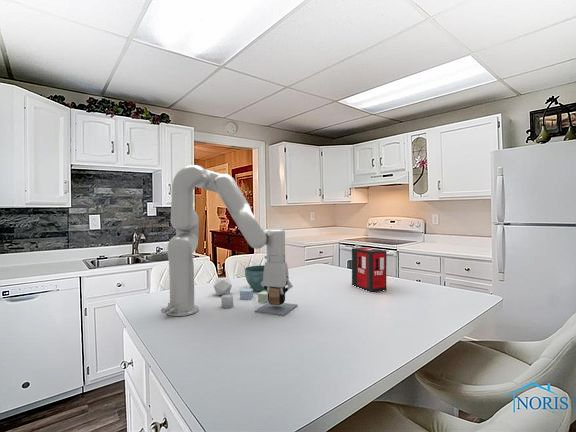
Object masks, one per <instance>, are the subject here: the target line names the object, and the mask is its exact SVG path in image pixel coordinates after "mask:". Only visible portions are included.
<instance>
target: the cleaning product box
mask: <svg viewBox="0 0 576 432" xmlns="http://www.w3.org/2000/svg"><path fill="white" fill-rule="evenodd" d="M352 285H354V286H356V287H355V288H357V287H359V288H358V289H360V288H362V289H364V290H363V291H365V290H367V291H366V292H368V291H370V292H369V293H371V292H376V293H378V292H377V291H383V290H386V291H387V250H382V249H378V248H370V247H365V246H364V247H354V248H351V286H352ZM354 286H353V287H354ZM362 289H361V290H362ZM383 292H384V291H383Z"/></svg>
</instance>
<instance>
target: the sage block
mask: <svg viewBox="0 0 576 432" xmlns="http://www.w3.org/2000/svg"><path fill="white" fill-rule="evenodd" d="M257 302H258V303H260V304H261V303H263V304H267V303H268V293H267V291H259V292H258V293H257Z"/></svg>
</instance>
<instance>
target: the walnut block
mask: <svg viewBox="0 0 576 432" xmlns="http://www.w3.org/2000/svg"><path fill="white" fill-rule="evenodd" d="M280 294H281V292H280V288H278V287H269V305H277V306H280V305H281V304H280Z"/></svg>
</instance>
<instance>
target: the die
mask: <svg viewBox="0 0 576 432" xmlns="http://www.w3.org/2000/svg"><path fill="white" fill-rule="evenodd" d="M213 288H214V291H215V294H216V296H217V297H218V296H223V295H230V292H231V289H232V283H231V281H230V278H229V277H227V276H226V277H225V276H224V277H217V278H216V280H215V282H214V285H213Z"/></svg>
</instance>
